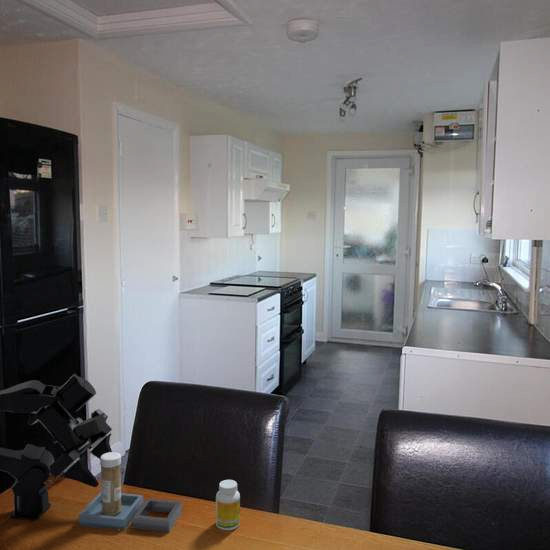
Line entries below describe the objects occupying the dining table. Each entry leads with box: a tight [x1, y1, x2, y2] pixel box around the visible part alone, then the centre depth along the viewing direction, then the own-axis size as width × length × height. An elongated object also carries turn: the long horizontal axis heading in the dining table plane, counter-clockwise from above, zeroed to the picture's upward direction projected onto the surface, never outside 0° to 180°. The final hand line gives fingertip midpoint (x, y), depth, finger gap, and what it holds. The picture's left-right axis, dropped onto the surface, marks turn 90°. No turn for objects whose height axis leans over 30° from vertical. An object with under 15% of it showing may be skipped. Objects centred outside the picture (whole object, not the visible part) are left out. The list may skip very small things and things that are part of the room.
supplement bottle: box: [215, 479, 241, 531], centre depth 120 cm, size 5×5×10 cm
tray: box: [78, 491, 144, 531], centre depth 123 cm, size 11×11×2 cm
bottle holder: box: [132, 497, 183, 533], centre depth 121 cm, size 8×8×2 cm
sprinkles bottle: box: [99, 451, 122, 516], centre depth 122 cm, size 5×5×14 cm
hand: (107, 476), depth 122 cm, fingers open, 9 cm apart
